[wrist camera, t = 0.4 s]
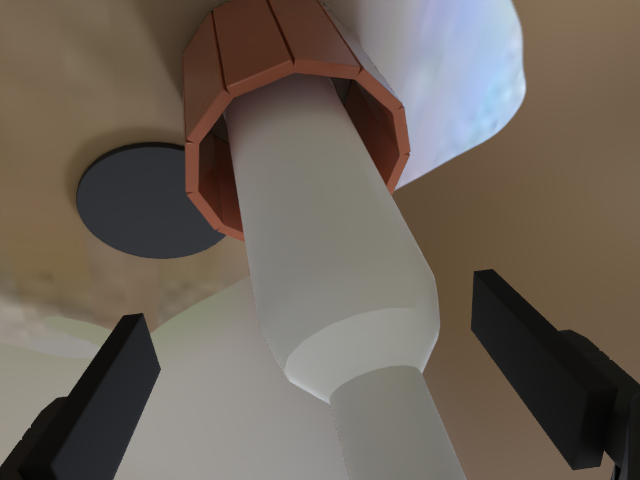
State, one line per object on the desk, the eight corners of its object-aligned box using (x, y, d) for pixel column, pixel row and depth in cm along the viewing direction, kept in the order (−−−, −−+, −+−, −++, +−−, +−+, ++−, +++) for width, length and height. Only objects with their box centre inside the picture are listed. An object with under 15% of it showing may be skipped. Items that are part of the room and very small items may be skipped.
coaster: (37, 181, 31) (35, 186, 30) (191, 117, 30) (191, 121, 30) (141, 270, 41) (141, 275, 40) (260, 224, 40) (261, 228, 40)
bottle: (209, 124, 31) (274, 698, 11) (232, 17, 26) (416, 719, 6) (306, 143, 34) (480, 610, 15) (342, 52, 29) (680, 580, 10)
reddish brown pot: (141, 39, 25) (131, 126, 19) (334, -45, 25) (391, 16, 18) (233, 182, 35) (246, 270, 29) (372, 125, 34) (418, 204, 28)
